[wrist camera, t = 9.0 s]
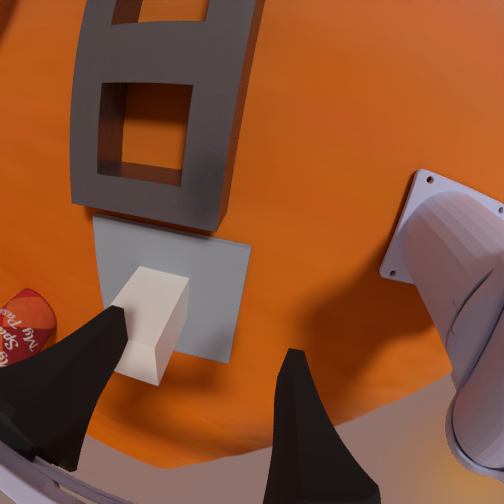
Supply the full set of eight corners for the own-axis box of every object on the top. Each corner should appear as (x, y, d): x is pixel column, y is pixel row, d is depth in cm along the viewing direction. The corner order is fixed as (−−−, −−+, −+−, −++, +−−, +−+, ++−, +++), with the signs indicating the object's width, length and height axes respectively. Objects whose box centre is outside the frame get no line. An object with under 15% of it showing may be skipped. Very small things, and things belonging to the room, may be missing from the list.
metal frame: (281, -72, 9) (279, -95, 7) (226, 212, 19) (216, 232, 17) (134, -66, 9) (114, -80, 7) (95, 188, 19) (71, 203, 17)
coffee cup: (64, 303, 26) (-16, 411, 13) (65, 346, 30) (7, 438, 17) (11, 267, 25) (-71, 353, 12) (17, 313, 29) (-45, 392, 16)
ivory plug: (189, 278, 21) (154, 348, 15) (187, 317, 23) (158, 386, 17) (139, 265, 22) (93, 328, 16) (141, 305, 24) (105, 367, 18)
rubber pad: (252, 245, 20) (250, 249, 20) (229, 358, 26) (228, 363, 26) (96, 212, 20) (92, 216, 20) (111, 326, 26) (108, 330, 26)
